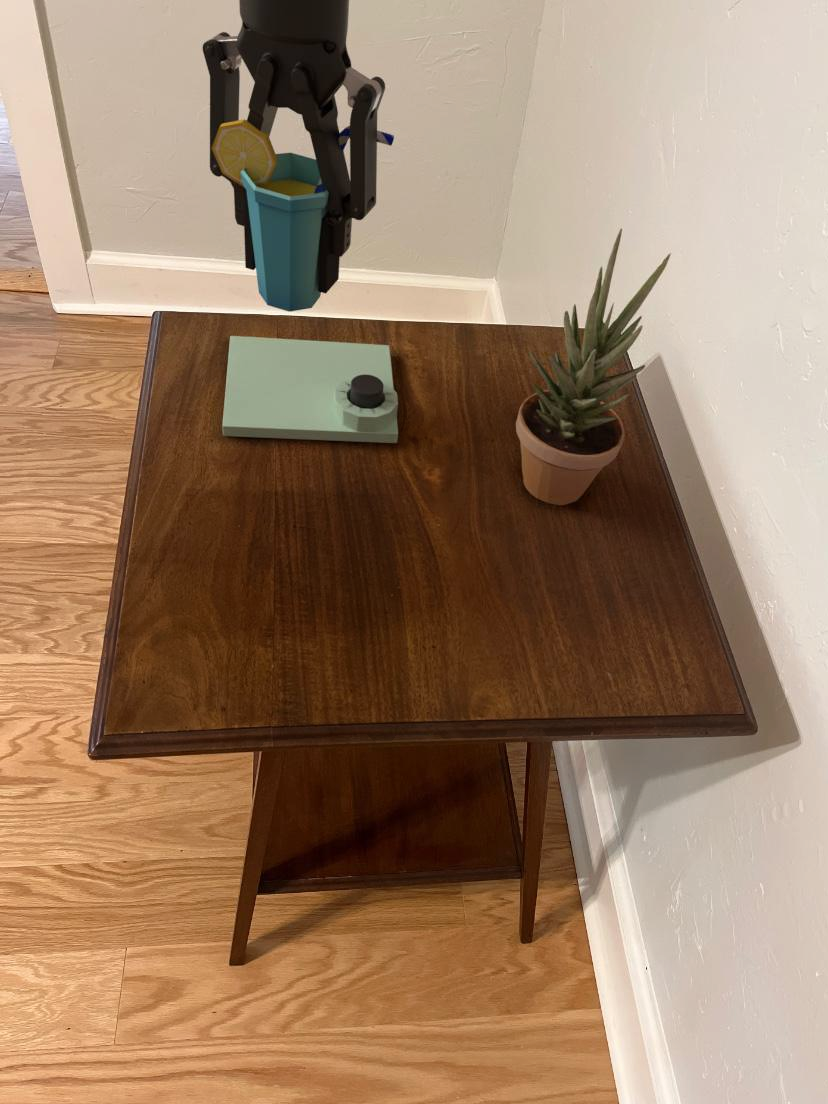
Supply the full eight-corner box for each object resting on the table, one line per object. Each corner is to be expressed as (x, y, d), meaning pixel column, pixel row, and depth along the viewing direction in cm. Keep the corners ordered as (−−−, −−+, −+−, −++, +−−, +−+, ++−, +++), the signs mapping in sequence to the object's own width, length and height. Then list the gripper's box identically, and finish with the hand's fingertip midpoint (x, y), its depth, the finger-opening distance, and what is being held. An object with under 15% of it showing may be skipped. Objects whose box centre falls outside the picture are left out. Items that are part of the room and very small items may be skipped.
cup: (376, 276, 84) (391, 105, 72) (381, 325, 79) (398, 150, 68) (221, 265, 81) (211, 87, 70) (216, 315, 76) (204, 132, 65)
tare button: (350, 408, 84) (351, 393, 83) (349, 388, 86) (350, 373, 84) (382, 410, 84) (384, 395, 83) (381, 390, 86) (382, 375, 85)
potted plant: (606, 461, 88) (693, 219, 70) (599, 528, 82) (693, 282, 64) (506, 438, 88) (566, 190, 70) (491, 502, 82) (553, 250, 64)
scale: (222, 436, 83) (221, 410, 81) (230, 345, 92) (229, 319, 89) (397, 443, 86) (400, 418, 83) (388, 354, 95) (391, 329, 92)
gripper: (137, -62, 60) (170, 260, 77) (406, 14, 58) (377, 328, 75) (195, -86, 65) (214, 223, 82) (445, -16, 63) (409, 285, 80)
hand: (292, 272), depth 79 cm, fingers closed on cup, 6 cm apart
